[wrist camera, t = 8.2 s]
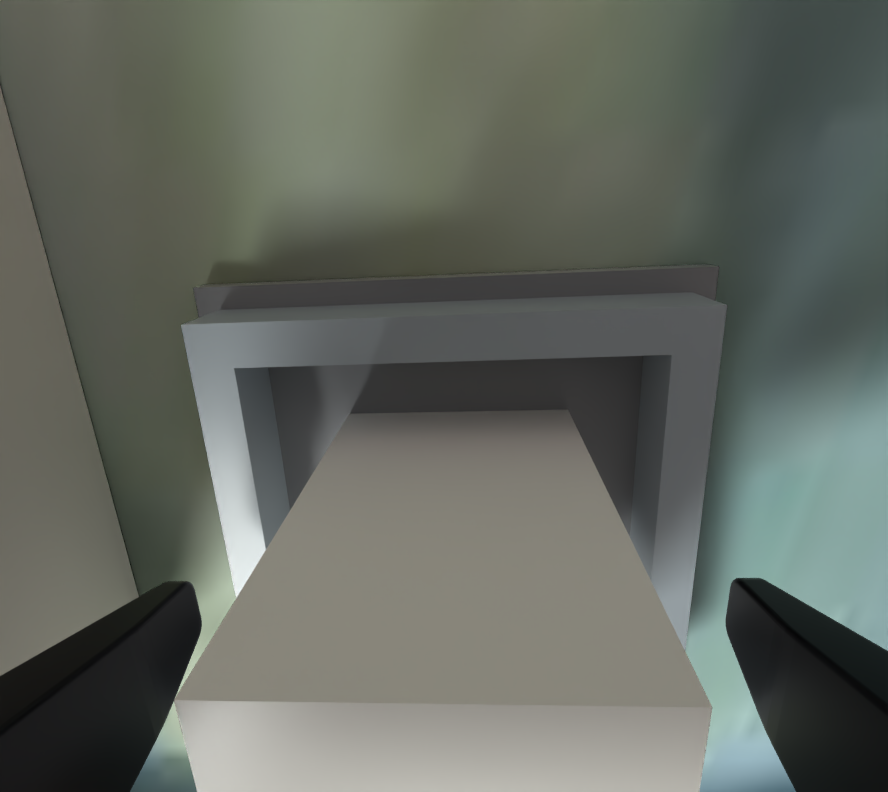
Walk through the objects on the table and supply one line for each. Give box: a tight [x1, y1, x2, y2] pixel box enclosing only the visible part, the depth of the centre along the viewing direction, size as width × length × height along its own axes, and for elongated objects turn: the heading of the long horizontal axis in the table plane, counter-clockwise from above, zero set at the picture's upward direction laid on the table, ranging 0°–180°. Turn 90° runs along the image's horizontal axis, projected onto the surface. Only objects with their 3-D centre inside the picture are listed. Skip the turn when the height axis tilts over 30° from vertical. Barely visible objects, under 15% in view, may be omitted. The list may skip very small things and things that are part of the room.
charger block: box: [174, 410, 712, 792], centre depth 8 cm, size 4×4×7 cm
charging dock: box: [181, 264, 727, 650], centre depth 11 cm, size 10×10×2 cm
